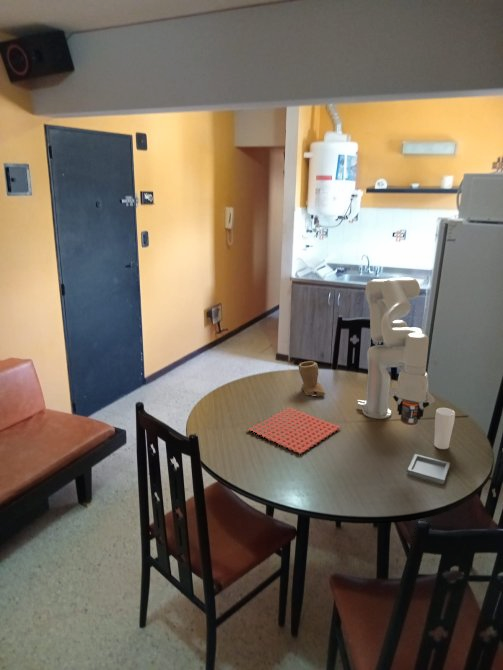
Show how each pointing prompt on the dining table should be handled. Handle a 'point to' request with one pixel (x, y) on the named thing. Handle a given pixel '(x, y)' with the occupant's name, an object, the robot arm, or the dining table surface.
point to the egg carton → (296, 430)
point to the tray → (428, 469)
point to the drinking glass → (443, 427)
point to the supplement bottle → (409, 412)
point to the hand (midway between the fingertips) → (409, 415)
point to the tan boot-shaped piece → (310, 378)
